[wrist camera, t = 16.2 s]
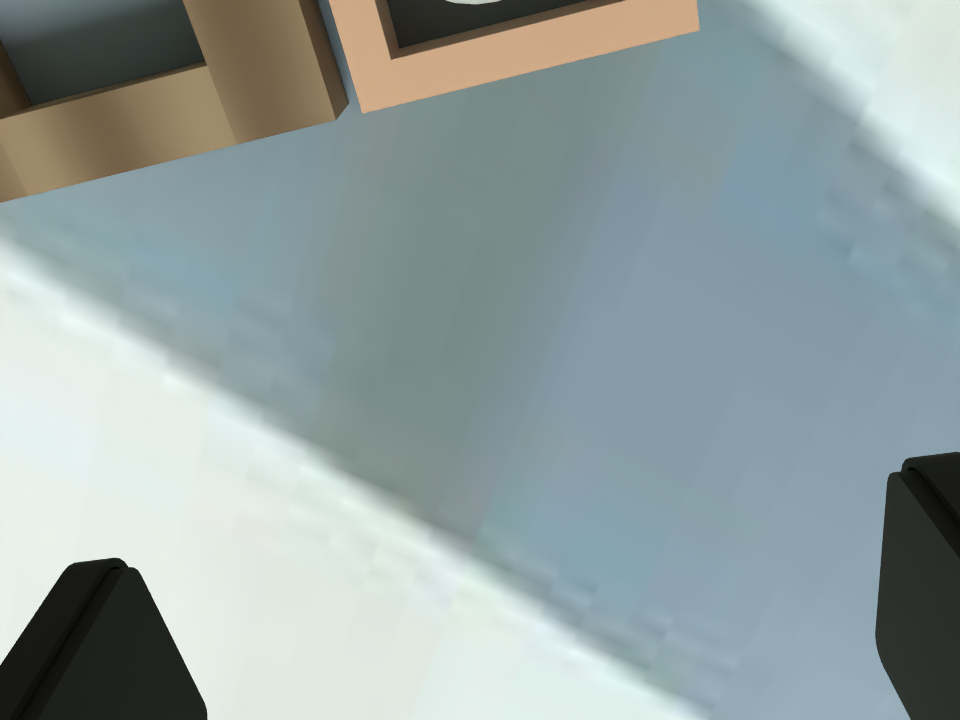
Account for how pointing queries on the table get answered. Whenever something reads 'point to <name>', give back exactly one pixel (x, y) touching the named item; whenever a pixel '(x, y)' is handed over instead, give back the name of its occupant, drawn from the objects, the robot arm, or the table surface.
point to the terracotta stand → (494, 45)
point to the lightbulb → (473, 1)
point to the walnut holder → (178, 100)
